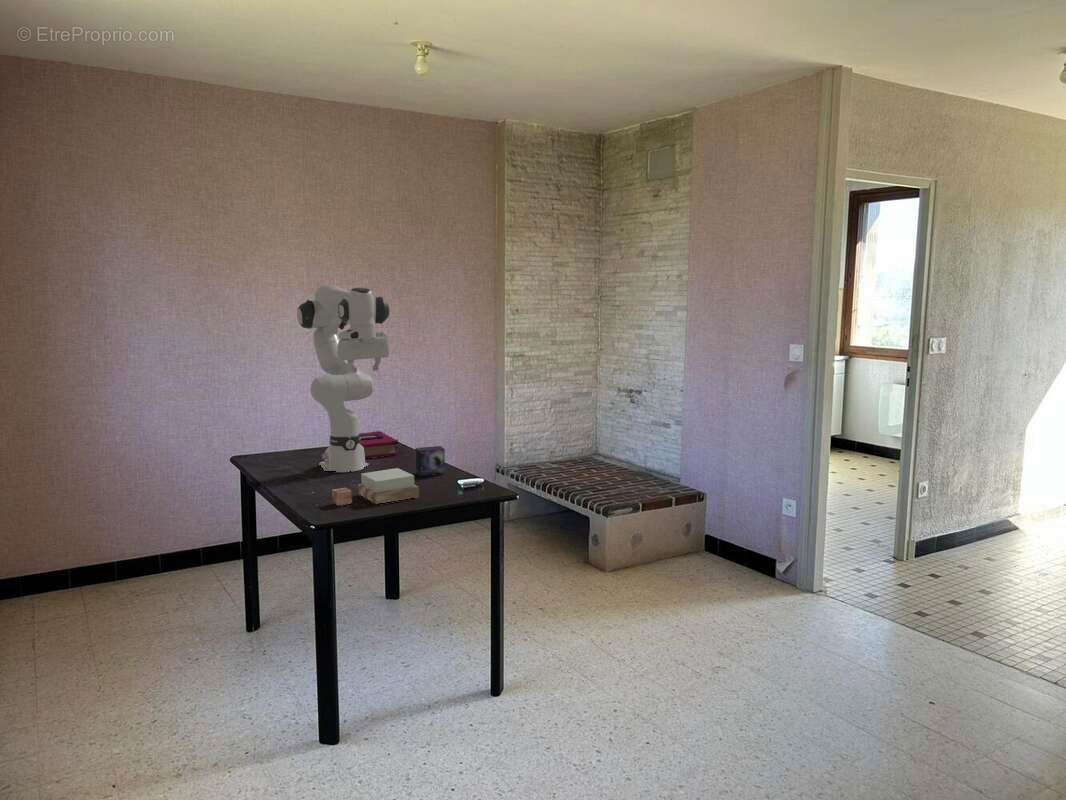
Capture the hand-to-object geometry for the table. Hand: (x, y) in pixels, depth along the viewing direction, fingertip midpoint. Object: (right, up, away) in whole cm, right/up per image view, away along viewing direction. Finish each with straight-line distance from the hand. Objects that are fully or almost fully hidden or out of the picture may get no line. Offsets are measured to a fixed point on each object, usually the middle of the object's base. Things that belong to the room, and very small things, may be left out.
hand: (364, 371), depth 277 cm
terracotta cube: (-4, -46, -16) cm, 49 cm away
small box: (+20, -40, +26) cm, 52 cm away
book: (-14, -35, +69) cm, 78 cm away
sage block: (+10, -41, -7) cm, 42 cm away
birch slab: (+10, -45, -7) cm, 47 cm away
